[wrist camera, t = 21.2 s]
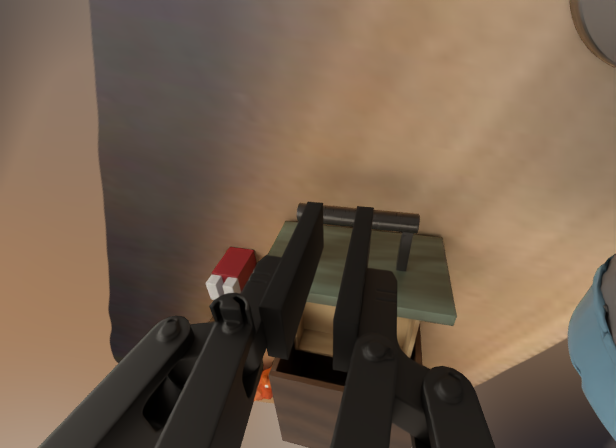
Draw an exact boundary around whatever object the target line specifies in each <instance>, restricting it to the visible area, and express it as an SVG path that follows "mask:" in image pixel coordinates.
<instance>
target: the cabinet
mask: <svg viewBox="0 0 616 448" xmlns="http://www.w3.org/2000/svg"><path fill="white" fill-rule="evenodd" d="M410 359H412V360H414V361H415V362H417V363H419V364H421V365H422V351H421V335H420V324H419V328H418V331H417V335H416V339H415V343H414V347H413V350H412V354H411V358H410ZM347 374H348V373H347V372H343V371H338V370H333V357H330V356H325V355H320V354H315V353H310V352H305V351H300V350H295V345H294V342H293V346H292V349H291V352H290V355H289V358H288V360H286V359H281V358H276V357H275V359H274V361H273V364H272V367H271V370H270V372H269V375H268V376H269V380H270V385H271V390H272V394H273V399H274V403H275V408H276V412H277V417H278V421H279V426H280V431H281V435H282V440H283V441H287V442H290V443H294V444H298V445H302V446H305V447H309V448H330V445H331V441H332V437H333V433H334V429H335V424H336V420H337V416H338V412H339V408H340V403H341V399H342V395H343V391H344V387H345V382H346V378H347ZM411 447H412V442H411V436H410V434H409V433H407V432H406V431H404V430H403V429H401V428H399V427H398V426H396V425H395V424H393V423H392V426H391V436H390V445H389V448H411Z"/></svg>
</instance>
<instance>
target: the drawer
mask: <svg viewBox="0 0 616 448" xmlns="http://www.w3.org/2000/svg"><path fill="white" fill-rule="evenodd" d="M306 205H307V204H305V203H300V204H299V205H298V208H297V220H298V221H299V219H300V217H301V215H302V213H303V211H304V209H305V207H306ZM356 211H357V208H348V207H337V206H326V205H323V224H330V225H340V226H349V227H353V225H354V220H355V215H356ZM419 223H420V215H419V214H414V213H403V212H392V211H381V210H374V212H373V222H372V229H378V230H387V231H397V232H401V233H393V232H383V231H374V230H372V233H371V243H370V254H369V262H368V268H374V269H381V270H389V271H392V272H393V274H394V275H395V277H396V279H397V281H398V282H397V340H398V343H399V346H400V348H401V349H402V351H403V352H404V353H405V354H406V355H407V356H408V357H409V358H411V354H412V350H413V347H414V343H415V339H416V335H417V331H418V328H419V324H420V321H426V322H432V323H438V324H444V325H450V326H453V325H454V323H455V320H456V317H457V315H456V309H455V304H454V298H453V293H452V287H451V282H450V276H449V270H448V265H447V259H446V254H445V248H444V243H443V238H440V237H431V236H421V235H413V234H414V233H416V234H417V233H418V230H419ZM297 224H298V222H289V221H285V223H284V225H283V227H282V229H281V231H280V232H279V234H278V236H277V238H276V240H275V242H274V244H273V246H272V247H271V249H270V251H269V253H268V255H271V256H278V257H282V255H283V253H284V251H285V249H286V247H287V245H288V243H289V241H290V238H291V236H292V234H293V232H294V230H295V228H296V226H297ZM323 228H324V248H323V251H322V254H321V258H320V261H319V264H318V267H317V270H316V273H315V276H314V280H313V283H312V286H311V289H310V292H309V295H308V298H307V302H306V305H305V308H304V311H303V314H302V317H301V320H300V324H299V327H298V330H297V333H296V336H295V339H294V345H295V350H300V351H305V352H310V353H315V354H320V355H325V356H330V357H333V318H334V313H335V308H336V304H337V299H338V294H339V290H340V285H341V281H342V276H343V271H344V267H345V262H346V257H347V253H348V248H349V243H350V239H351V234H352V229H353V228H346V227H336V226H327V225H323Z"/></svg>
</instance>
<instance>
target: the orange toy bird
mask: <svg viewBox="0 0 616 448" xmlns="http://www.w3.org/2000/svg"><path fill="white" fill-rule="evenodd" d="M271 367H272V366H271ZM271 367H270V368H269V369H266V370H264V371H263V372H262V374H261V378H260V381H259V385H258V388H257V392H256V395H255V398H254V401H255V400H262V399H264V398H265V399H271V398H272V397H273V394H272V390H271V385H270V380H269V376H268V375H269V372H270V370H271Z"/></svg>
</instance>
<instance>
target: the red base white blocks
mask: <svg viewBox="0 0 616 448" xmlns="http://www.w3.org/2000/svg"><path fill="white" fill-rule="evenodd" d="M255 266H256V259H255V254H254V250H250V249H242V248H234V247H230V248H229V249H228V251H227V252H226V253H225V255H224V256H223V258H222V259H221V260H220V262H219V263H218V265H217V266H216V267H215V269H214V270H213V272H212V275H211V276H210V278H209V279H208V281H207V282H206V285H207V288H208V291H209V294H210V297H211V299H213V300H215V299H216V298H218V297H219V296H221V295H224V294H227V293H241V291H242V290H243V288H244V286H245V284H246V282H247V281H248V280H249V277H250V275H251V273H253V270H254V268H255Z"/></svg>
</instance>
